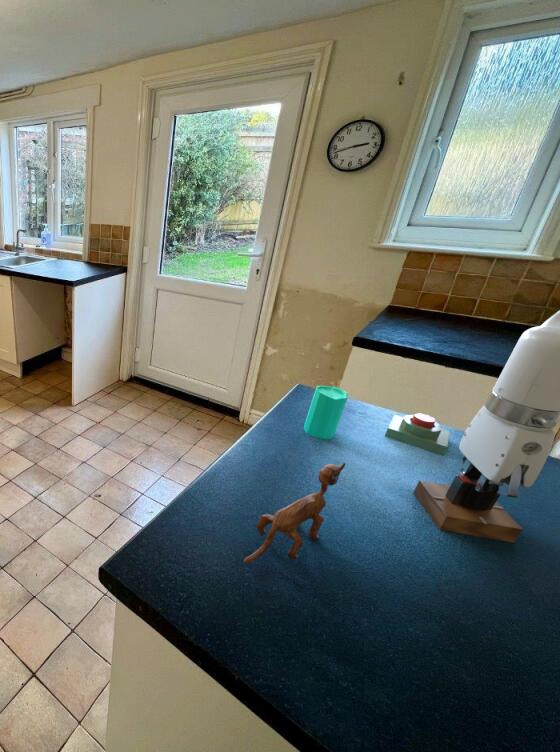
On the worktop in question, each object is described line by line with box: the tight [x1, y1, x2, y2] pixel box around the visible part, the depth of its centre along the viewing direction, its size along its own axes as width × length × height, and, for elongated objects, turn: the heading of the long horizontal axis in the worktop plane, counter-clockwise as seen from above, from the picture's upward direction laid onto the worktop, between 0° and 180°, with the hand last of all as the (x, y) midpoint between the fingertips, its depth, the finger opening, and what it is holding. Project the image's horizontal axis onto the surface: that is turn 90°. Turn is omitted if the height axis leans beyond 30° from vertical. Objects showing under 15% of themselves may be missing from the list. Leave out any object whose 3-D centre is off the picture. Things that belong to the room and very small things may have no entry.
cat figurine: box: [243, 462, 346, 565], centre depth 63 cm, size 18×7×14 cm, turn 118°
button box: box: [384, 414, 452, 456], centre depth 91 cm, size 10×8×4 cm
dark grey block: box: [445, 474, 502, 510], centre depth 69 cm, size 6×2×5 cm, turn 74°
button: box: [411, 412, 436, 428], centre depth 90 cm, size 4×4×2 cm
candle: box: [303, 384, 349, 440], centre depth 92 cm, size 6×6×12 cm
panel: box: [412, 480, 523, 544], centre depth 71 cm, size 10×10×3 cm
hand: (468, 501), depth 70 cm, fingers closed on dark grey block, 2 cm apart
